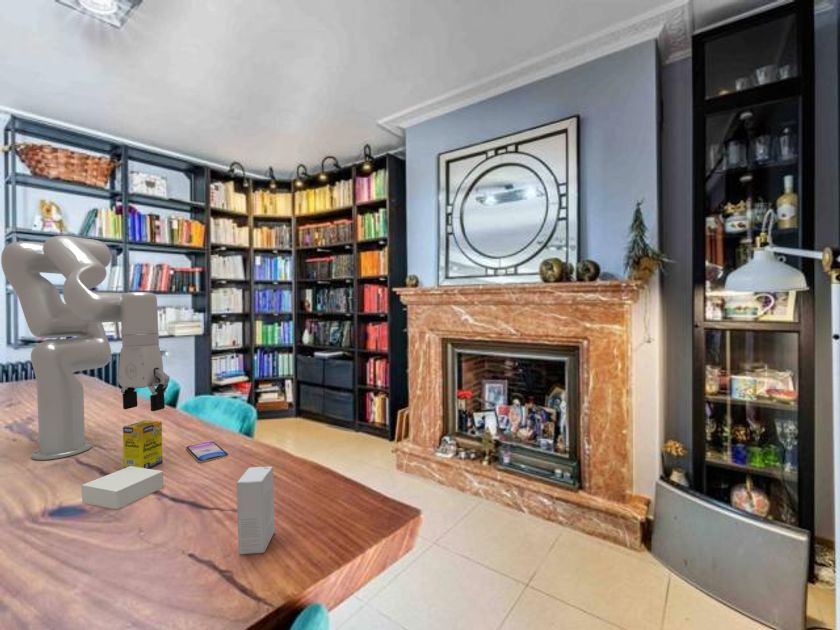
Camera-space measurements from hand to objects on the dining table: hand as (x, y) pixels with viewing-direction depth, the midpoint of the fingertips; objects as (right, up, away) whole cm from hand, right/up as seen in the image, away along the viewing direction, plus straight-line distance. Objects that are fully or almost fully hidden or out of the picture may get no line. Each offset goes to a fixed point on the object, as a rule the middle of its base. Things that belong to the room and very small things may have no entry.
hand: (144, 408), depth 99 cm
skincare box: (+42, -15, -32) cm, 55 cm away
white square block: (+6, -15, -14) cm, 22 cm away
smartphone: (+11, -15, +10) cm, 21 cm away
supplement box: (0, -15, +1) cm, 15 cm away
